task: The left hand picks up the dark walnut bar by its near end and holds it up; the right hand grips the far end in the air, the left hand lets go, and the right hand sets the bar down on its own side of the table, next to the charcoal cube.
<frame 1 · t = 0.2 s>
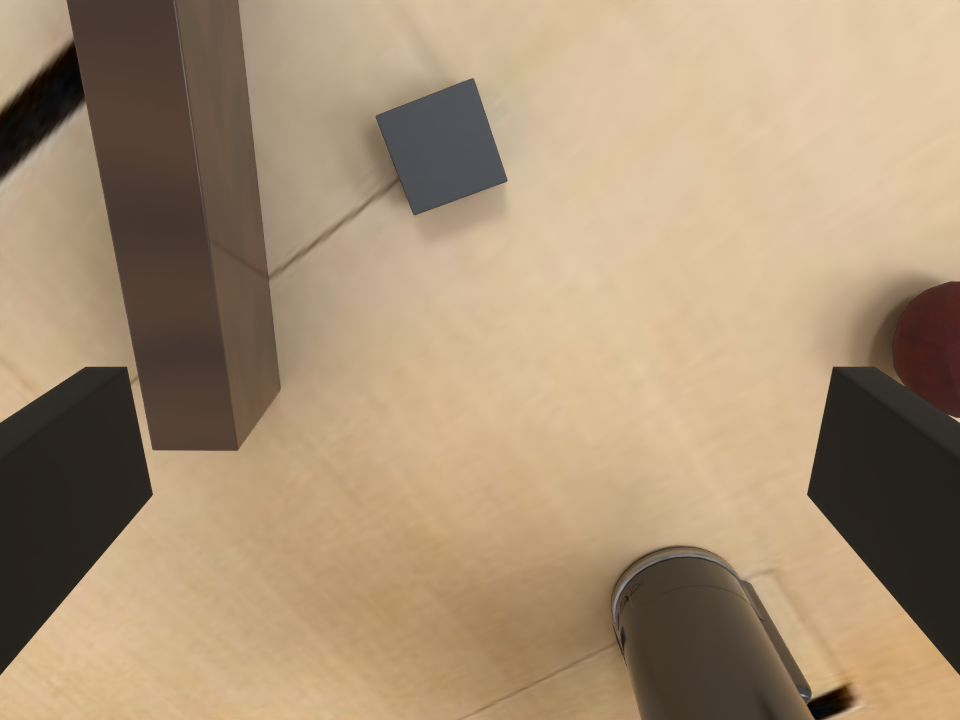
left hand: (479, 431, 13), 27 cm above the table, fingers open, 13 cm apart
dark red ball: (925, 327, 41), on the table
charcoal cube: (447, 143, 37), on the table
walnut bar: (220, 197, 38), on the table
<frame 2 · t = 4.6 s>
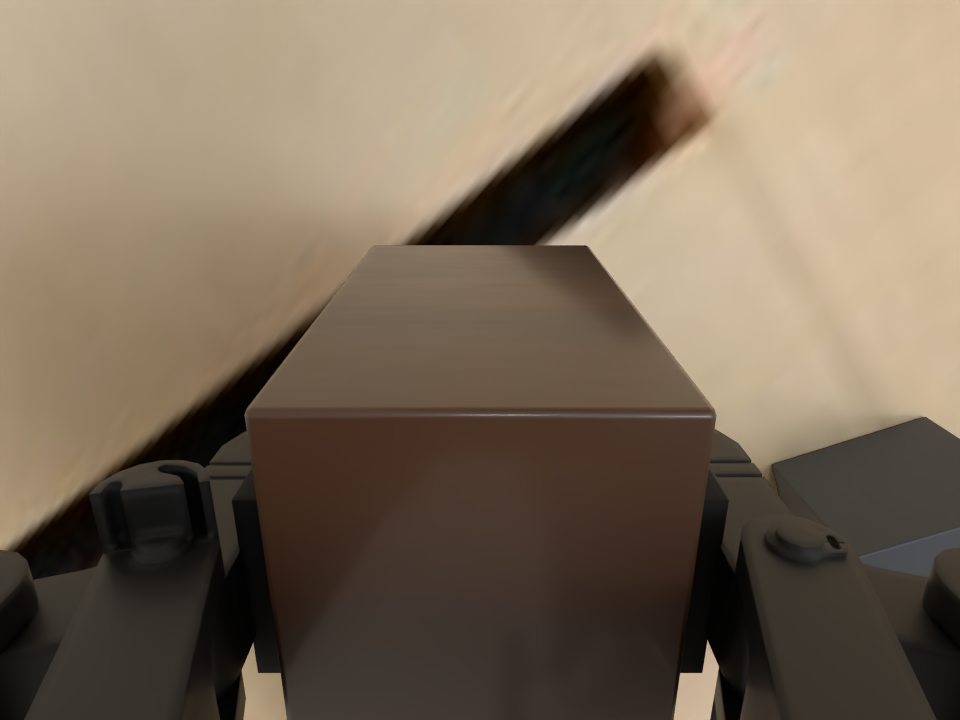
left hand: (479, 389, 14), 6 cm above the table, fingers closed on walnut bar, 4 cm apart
charcoal cube: (859, 503, 22), on the table
walnut bar: (480, 685, 18), point 5 cm above the table, touching left hand
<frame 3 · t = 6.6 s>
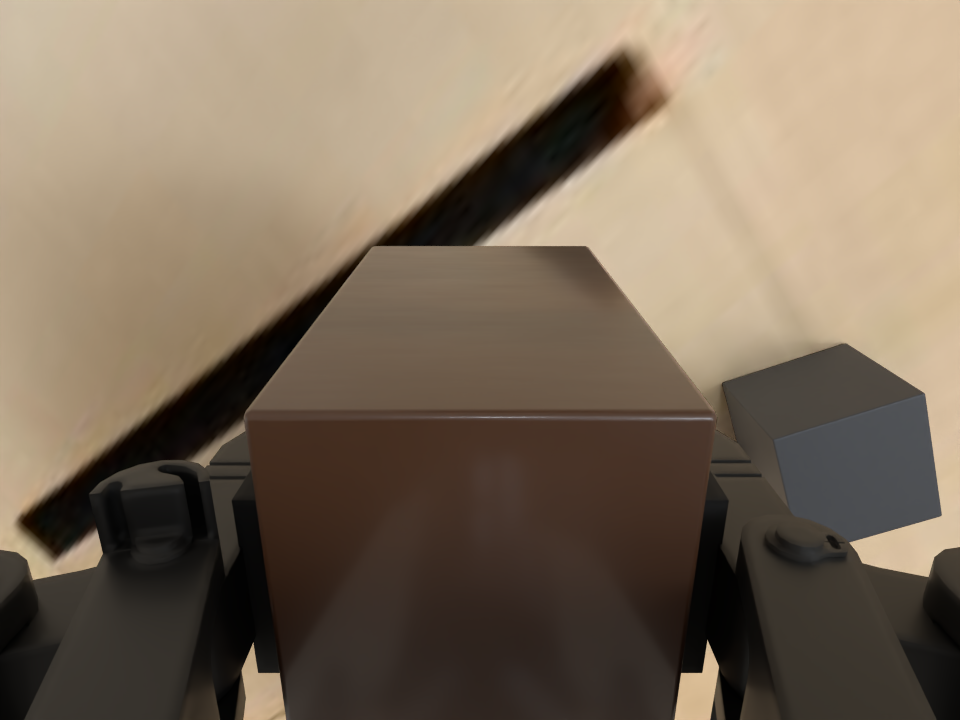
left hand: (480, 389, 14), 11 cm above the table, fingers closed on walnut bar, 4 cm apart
charcoal cube: (794, 415, 27), on the table
walnut bar: (480, 686, 18), point 11 cm above the table, touching left hand
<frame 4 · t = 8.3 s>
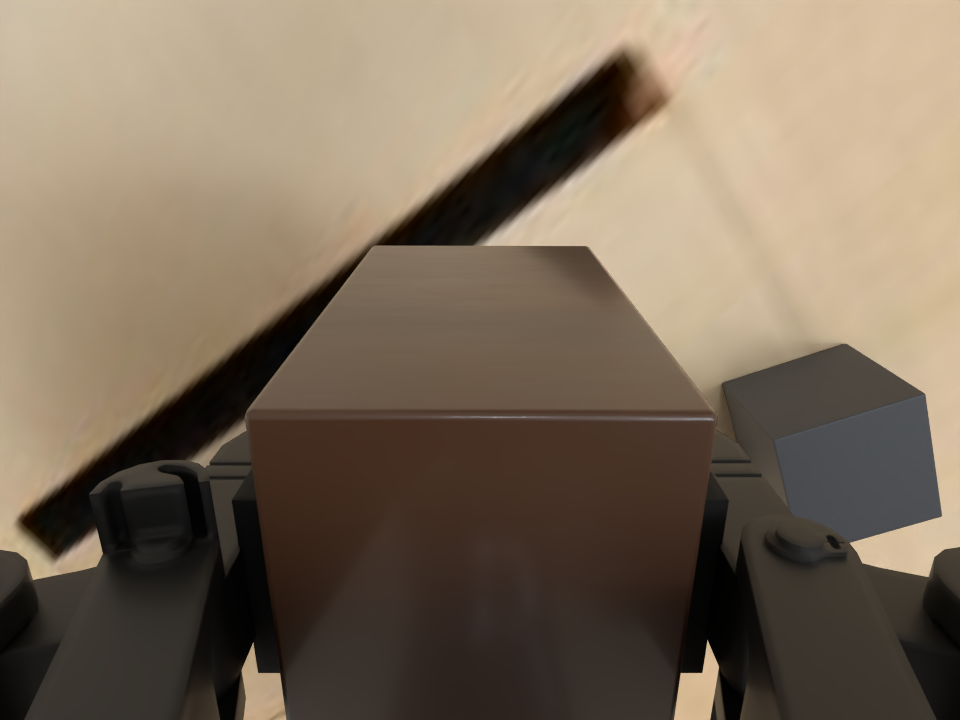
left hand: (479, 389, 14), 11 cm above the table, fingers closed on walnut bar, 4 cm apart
charcoal cube: (794, 416, 27), on the table
walnut bar: (479, 686, 18), point 11 cm above the table, touching left hand, right hand
when the left hand's fingers open (11 cm above the table, at t = 9.1 s): walnut bar stays where it is, held by the right hand.
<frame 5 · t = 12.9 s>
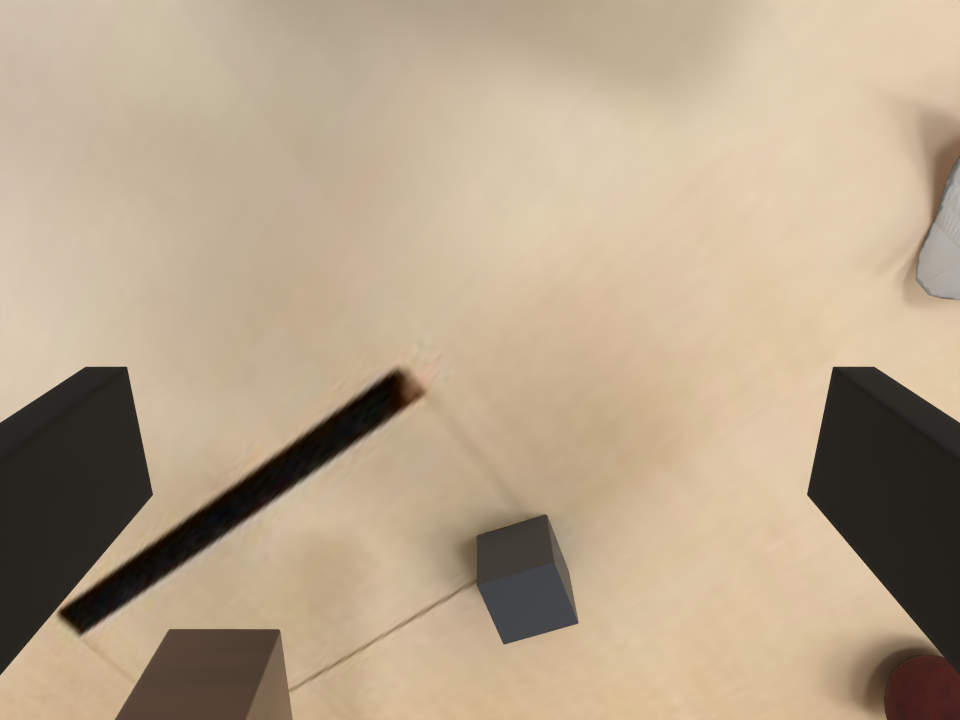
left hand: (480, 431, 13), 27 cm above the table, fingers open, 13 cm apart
dark red ball: (911, 671, 49), on the table
charcoal cube: (523, 553, 46), on the table
when the right hand's fingers open (5 cm above the table, at t = 17.8 s): walnut bar stays where it is, on the table.
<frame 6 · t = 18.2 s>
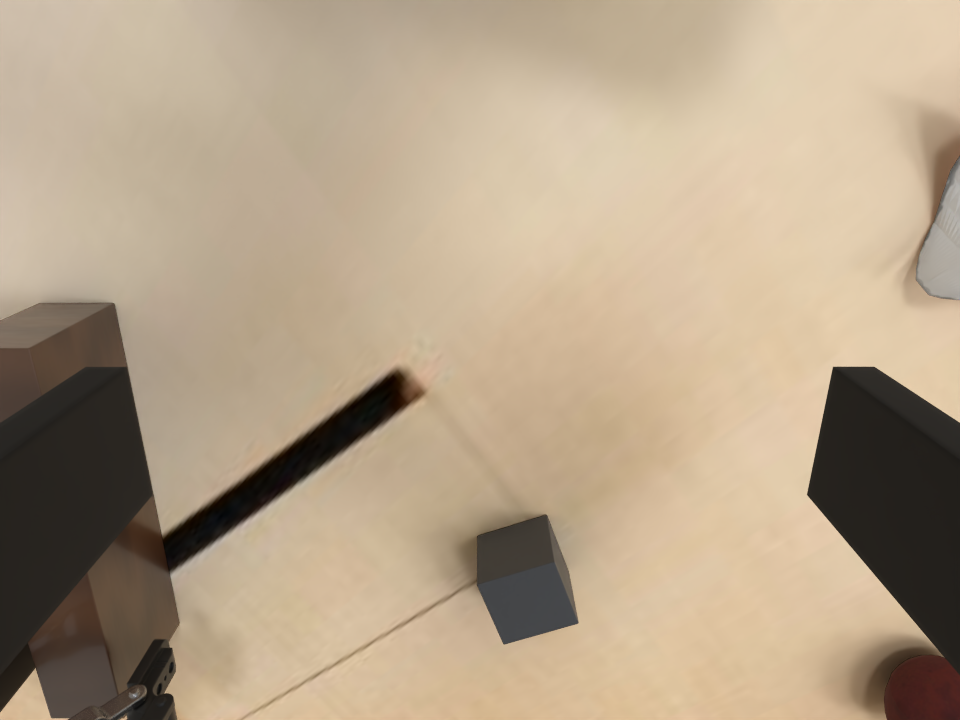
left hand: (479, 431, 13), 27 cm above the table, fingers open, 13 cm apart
dark red ball: (911, 671, 49), on the table
charcoal cube: (523, 553, 46), on the table
walnut bar: (116, 478, 44), on the table
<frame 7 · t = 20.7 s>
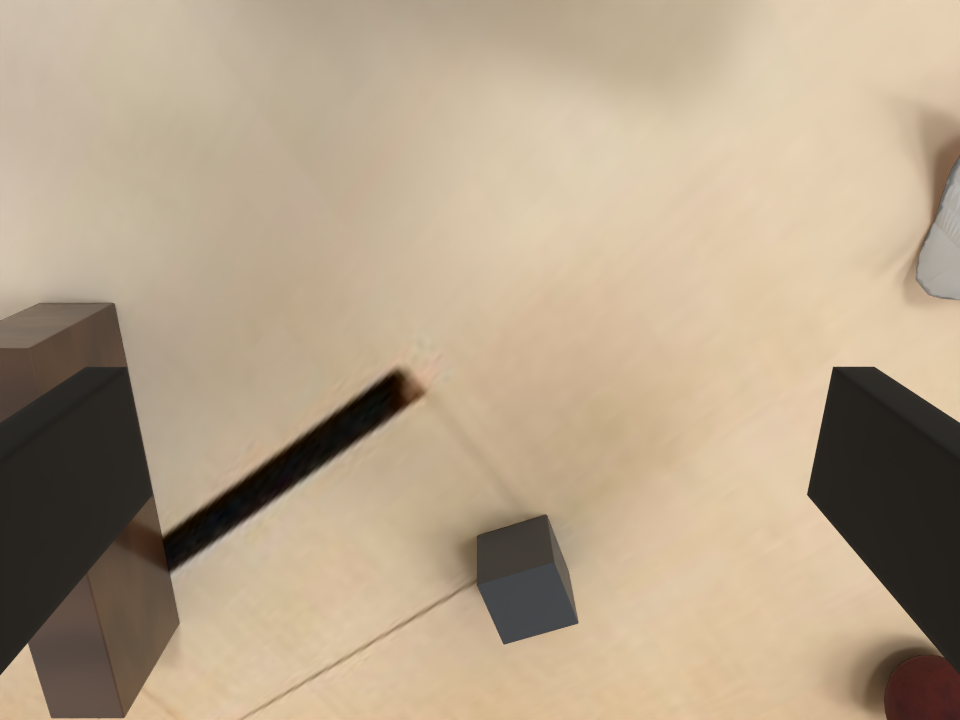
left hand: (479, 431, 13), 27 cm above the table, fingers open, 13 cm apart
dark red ball: (911, 671, 49), on the table
charcoal cube: (523, 553, 46), on the table
walnut bar: (116, 478, 44), on the table
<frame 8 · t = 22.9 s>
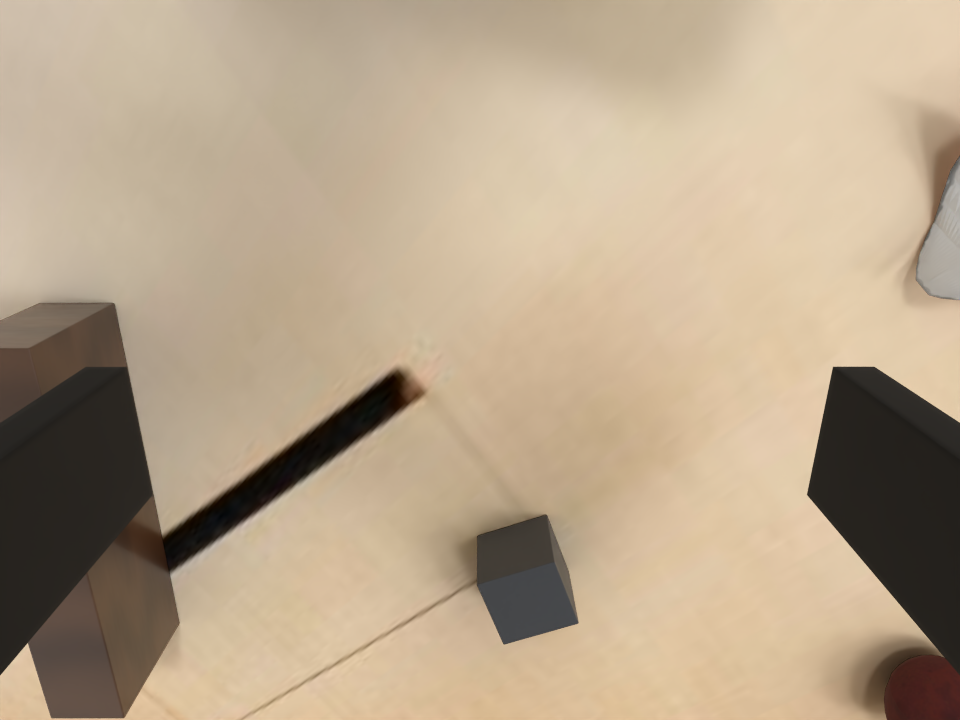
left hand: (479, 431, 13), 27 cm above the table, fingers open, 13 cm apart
dark red ball: (911, 671, 49), on the table
charcoal cube: (523, 553, 46), on the table
walnut bar: (116, 478, 44), on the table
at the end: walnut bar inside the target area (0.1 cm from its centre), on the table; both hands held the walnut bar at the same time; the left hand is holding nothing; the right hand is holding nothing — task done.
